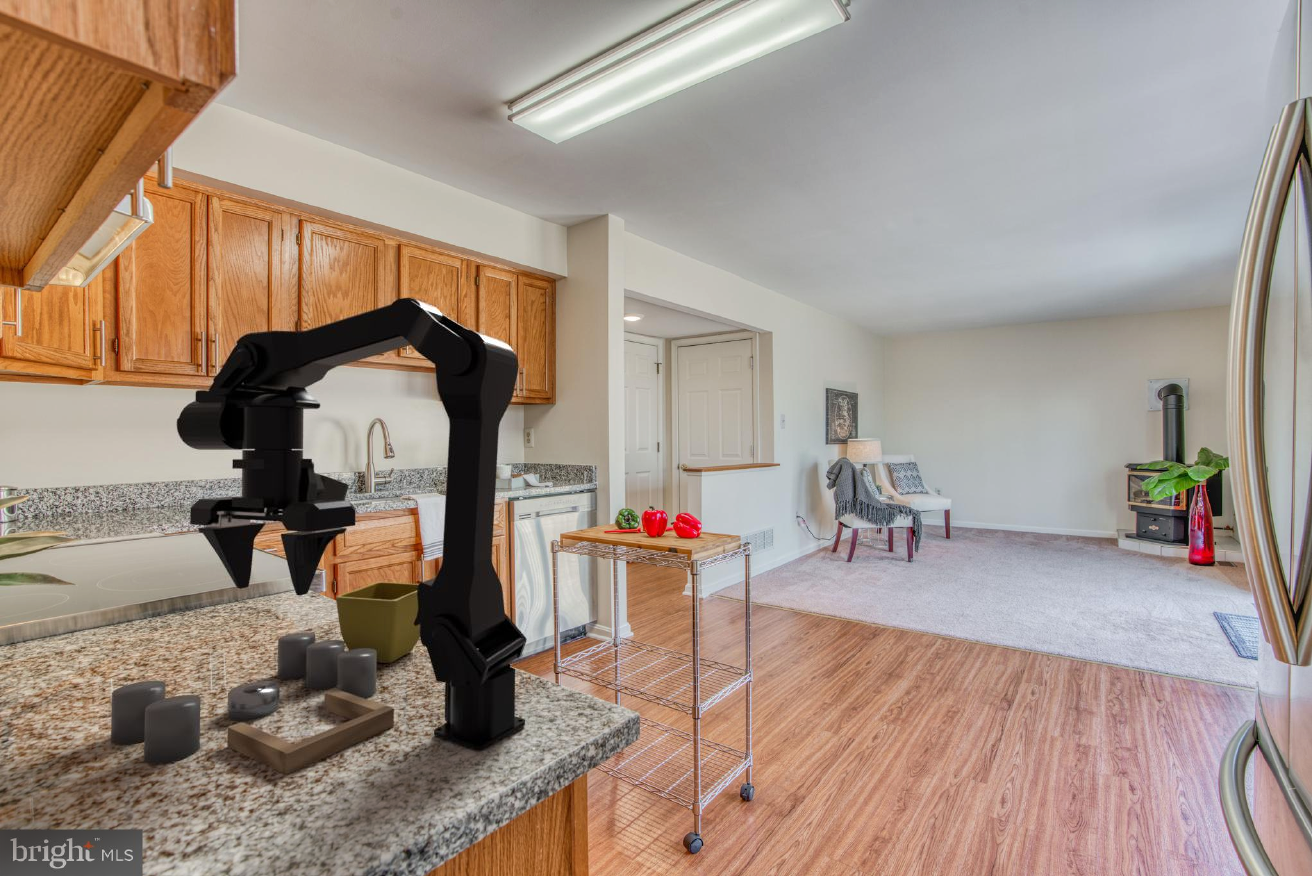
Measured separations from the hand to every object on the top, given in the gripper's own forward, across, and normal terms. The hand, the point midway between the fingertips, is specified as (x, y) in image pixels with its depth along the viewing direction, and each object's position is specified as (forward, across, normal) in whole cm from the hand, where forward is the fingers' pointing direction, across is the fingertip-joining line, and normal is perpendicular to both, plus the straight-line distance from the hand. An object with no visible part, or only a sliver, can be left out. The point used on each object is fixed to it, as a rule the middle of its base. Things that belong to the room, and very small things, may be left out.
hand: (271, 591), depth 67 cm
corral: (+12, -11, +4) cm, 17 cm away
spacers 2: (+12, -1, -6) cm, 14 cm away
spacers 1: (+12, +1, +10) cm, 16 cm away
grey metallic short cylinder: (+12, 0, +2) cm, 13 cm away
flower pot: (+12, 0, -16) cm, 20 cm away
